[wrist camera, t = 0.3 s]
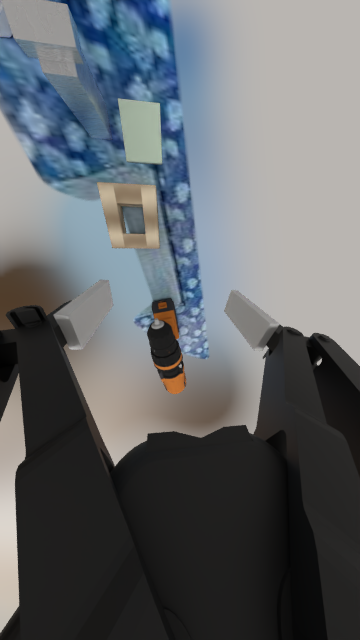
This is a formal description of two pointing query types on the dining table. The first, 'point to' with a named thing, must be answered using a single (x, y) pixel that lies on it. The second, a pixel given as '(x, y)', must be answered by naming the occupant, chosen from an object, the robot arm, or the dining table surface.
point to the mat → (141, 131)
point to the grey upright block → (60, 58)
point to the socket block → (130, 196)
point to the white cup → (4, 23)
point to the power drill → (166, 346)
